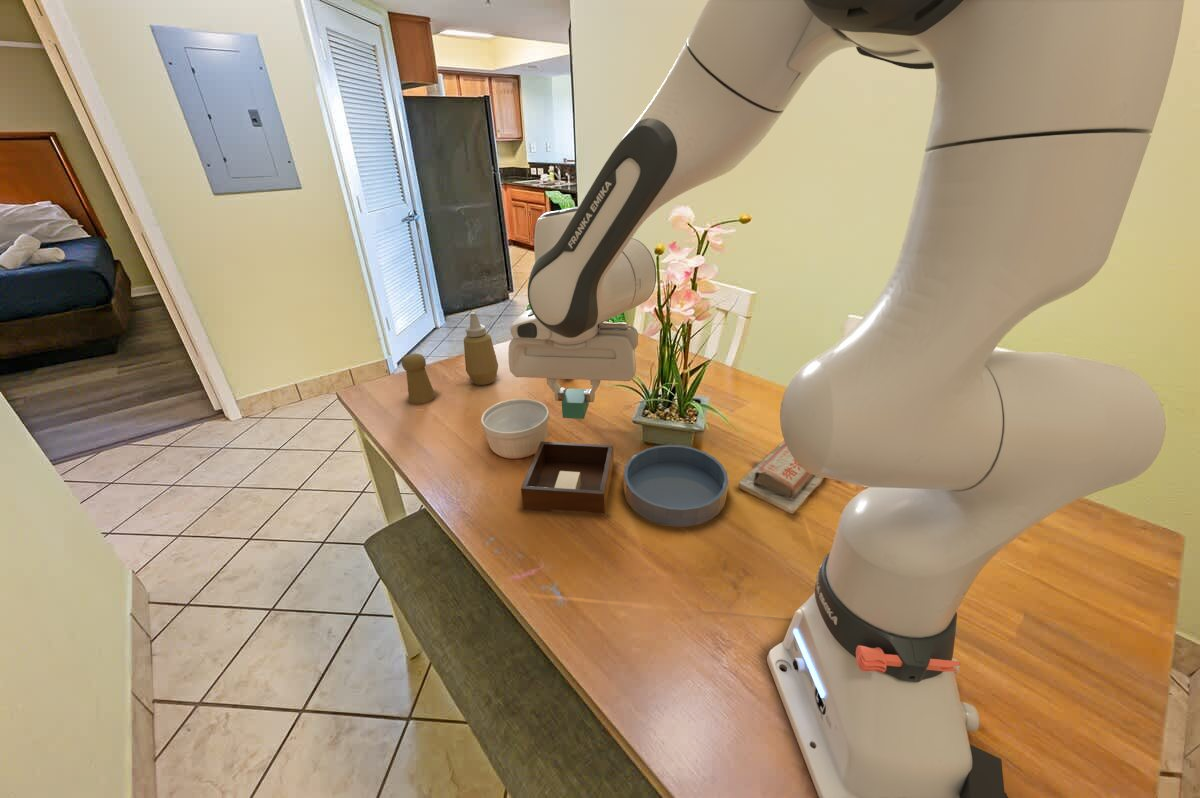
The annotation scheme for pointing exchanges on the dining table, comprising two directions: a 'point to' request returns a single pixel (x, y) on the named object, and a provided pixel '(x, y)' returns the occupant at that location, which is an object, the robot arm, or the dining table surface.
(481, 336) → the squeeze bottle
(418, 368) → the pepper mill
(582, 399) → the teal rectangular block
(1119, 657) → the dining table surface
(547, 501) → the tray
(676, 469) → the bowl
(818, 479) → the packaged product
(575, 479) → the beige block
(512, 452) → the ramekin
